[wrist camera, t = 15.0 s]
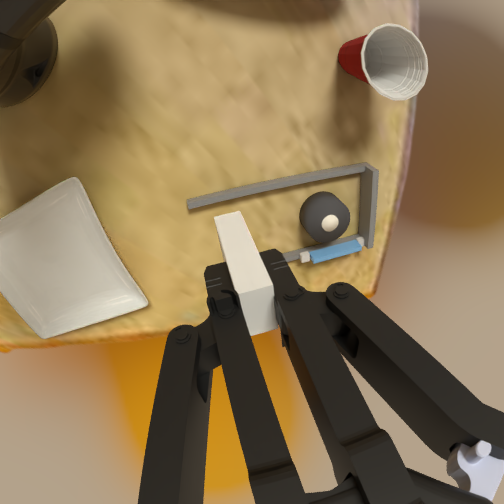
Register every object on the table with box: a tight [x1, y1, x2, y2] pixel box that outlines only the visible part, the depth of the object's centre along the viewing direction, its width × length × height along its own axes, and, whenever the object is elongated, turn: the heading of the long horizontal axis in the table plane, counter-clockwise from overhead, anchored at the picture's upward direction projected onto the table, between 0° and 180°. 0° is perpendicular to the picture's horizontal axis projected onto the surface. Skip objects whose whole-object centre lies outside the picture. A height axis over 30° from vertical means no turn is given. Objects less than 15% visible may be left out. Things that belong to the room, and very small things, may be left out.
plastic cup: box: [338, 23, 428, 100], centre depth 36 cm, size 11×11×12 cm
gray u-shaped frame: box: [187, 162, 379, 263], centre depth 54 cm, size 32×16×4 cm, turn 98°
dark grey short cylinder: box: [300, 192, 350, 243], centre depth 54 cm, size 8×8×4 cm
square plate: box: [0, 177, 148, 339], centre depth 48 cm, size 27×27×4 cm
